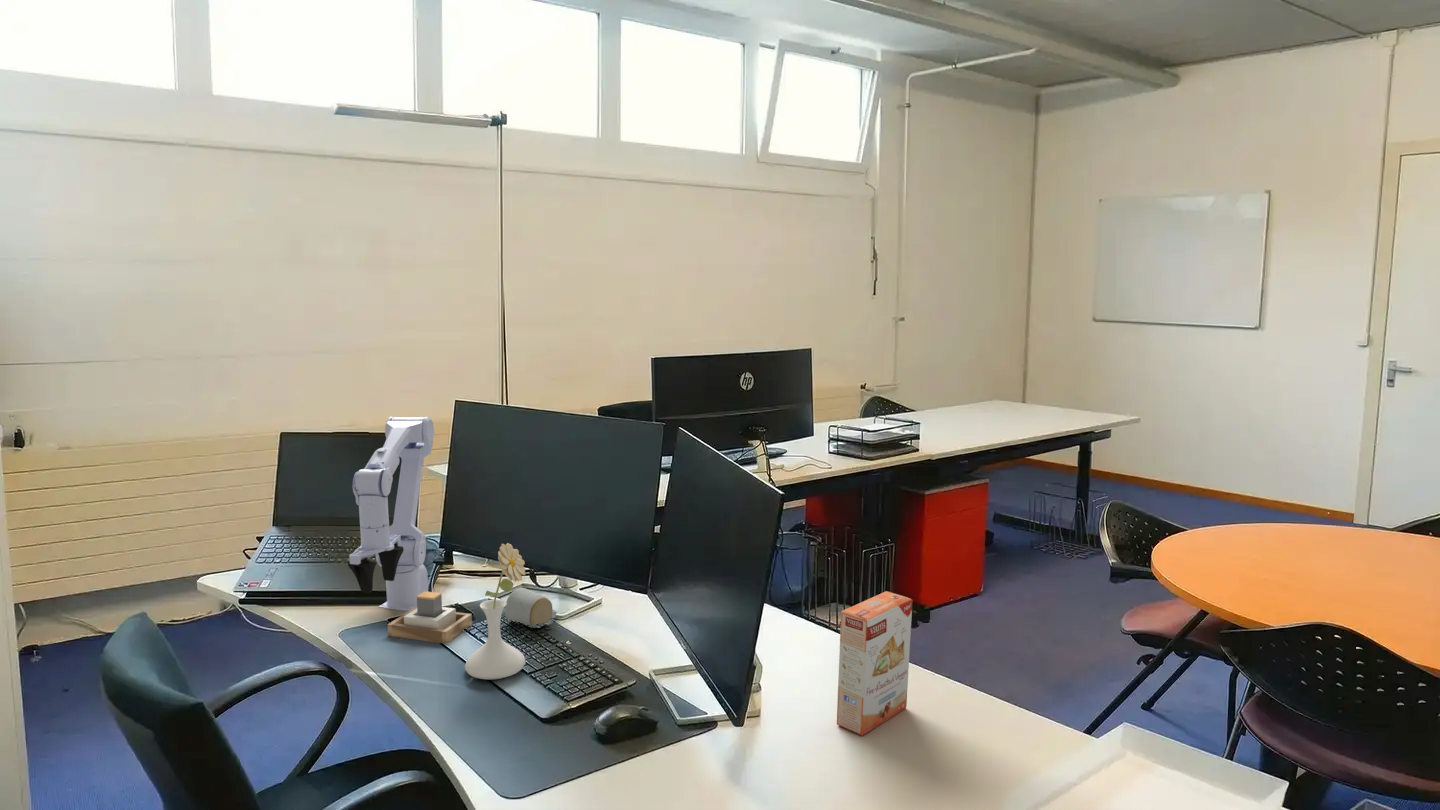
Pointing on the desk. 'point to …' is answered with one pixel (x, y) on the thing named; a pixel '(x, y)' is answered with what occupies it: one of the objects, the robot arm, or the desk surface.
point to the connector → (429, 604)
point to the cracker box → (873, 661)
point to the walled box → (429, 629)
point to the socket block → (432, 619)
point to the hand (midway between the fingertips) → (378, 586)
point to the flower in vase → (498, 626)
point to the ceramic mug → (529, 607)
